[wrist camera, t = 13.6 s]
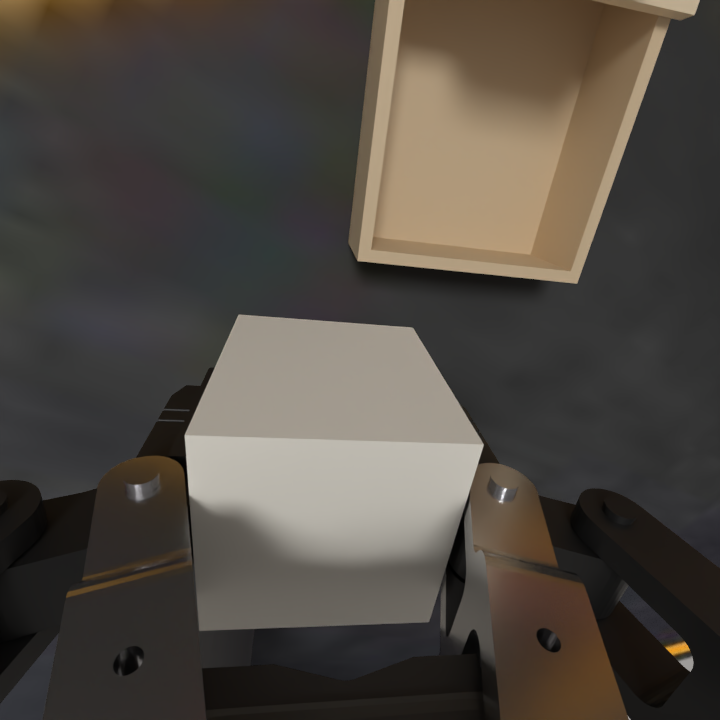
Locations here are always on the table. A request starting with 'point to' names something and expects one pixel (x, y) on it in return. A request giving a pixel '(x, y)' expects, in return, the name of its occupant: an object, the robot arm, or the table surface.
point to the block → (324, 477)
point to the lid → (659, 7)
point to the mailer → (496, 131)
